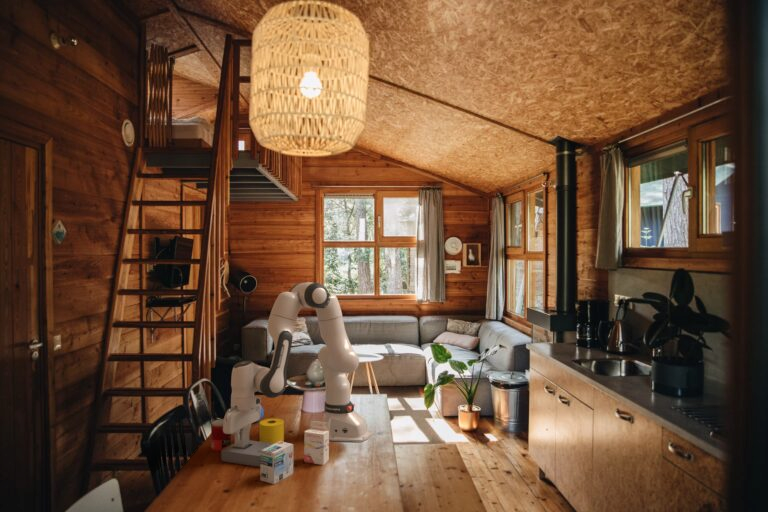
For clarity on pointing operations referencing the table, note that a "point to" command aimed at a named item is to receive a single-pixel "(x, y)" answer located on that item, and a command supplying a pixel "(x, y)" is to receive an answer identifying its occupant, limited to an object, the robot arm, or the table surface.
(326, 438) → the ink cartridge box
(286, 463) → the light bulb box
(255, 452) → the socket block
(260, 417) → the blue mole toy
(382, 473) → the table surface
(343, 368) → the robot arm
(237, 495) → the table surface
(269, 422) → the tape roll
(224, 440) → the canned food
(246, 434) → the square peg
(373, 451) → the table surface
